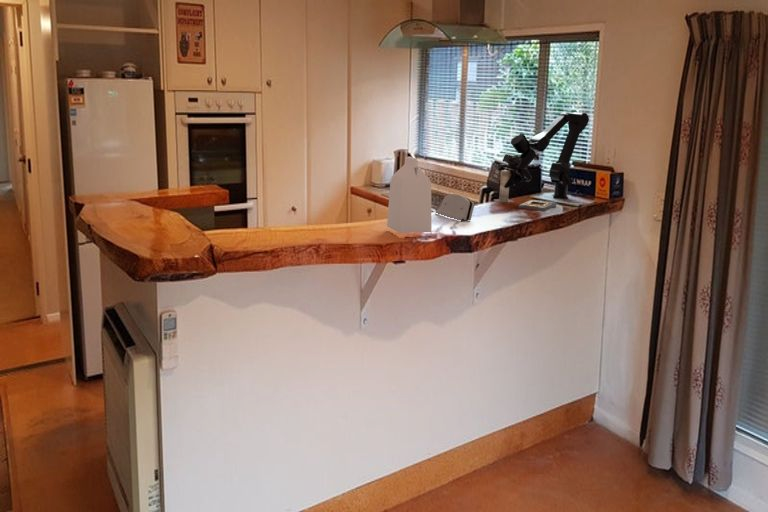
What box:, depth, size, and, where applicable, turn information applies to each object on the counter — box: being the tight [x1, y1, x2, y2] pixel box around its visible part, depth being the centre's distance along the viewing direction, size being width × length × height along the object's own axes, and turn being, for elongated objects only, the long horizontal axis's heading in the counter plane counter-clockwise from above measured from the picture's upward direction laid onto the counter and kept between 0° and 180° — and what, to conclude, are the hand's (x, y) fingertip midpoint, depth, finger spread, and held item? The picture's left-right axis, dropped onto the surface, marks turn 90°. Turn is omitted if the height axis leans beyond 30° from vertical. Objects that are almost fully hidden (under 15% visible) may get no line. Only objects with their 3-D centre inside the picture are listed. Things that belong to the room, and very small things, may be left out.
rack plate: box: [518, 199, 557, 212], centre depth 289 cm, size 16×11×2 cm
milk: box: [386, 156, 432, 233], centre depth 231 cm, size 12×12×26 cm
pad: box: [494, 198, 516, 203], centre depth 301 cm, size 7×7×1 cm
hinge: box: [435, 193, 475, 221], centre depth 263 cm, size 17×5×10 cm, turn 31°
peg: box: [498, 170, 511, 201], centre depth 299 cm, size 4×4×13 cm
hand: (501, 186), depth 298 cm, fingers closed on peg, 4 cm apart
